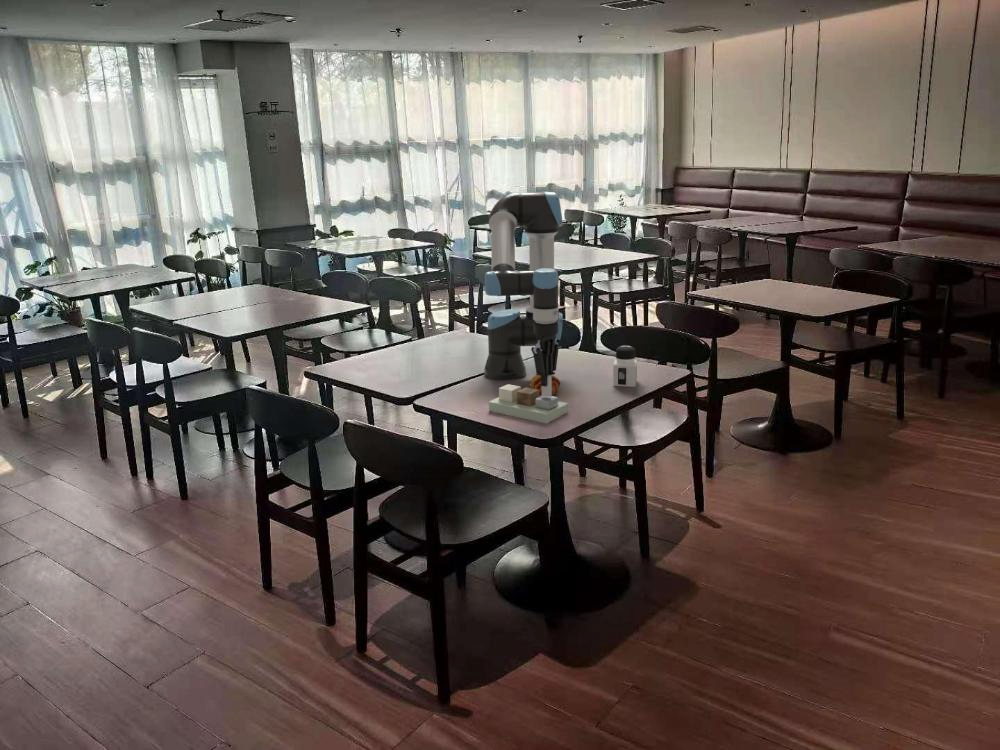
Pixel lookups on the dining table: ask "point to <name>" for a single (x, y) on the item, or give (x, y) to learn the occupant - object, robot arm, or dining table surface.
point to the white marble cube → (546, 402)
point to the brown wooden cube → (527, 396)
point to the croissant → (537, 385)
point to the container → (625, 367)
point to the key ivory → (508, 393)
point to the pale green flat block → (528, 410)
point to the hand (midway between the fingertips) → (546, 395)
